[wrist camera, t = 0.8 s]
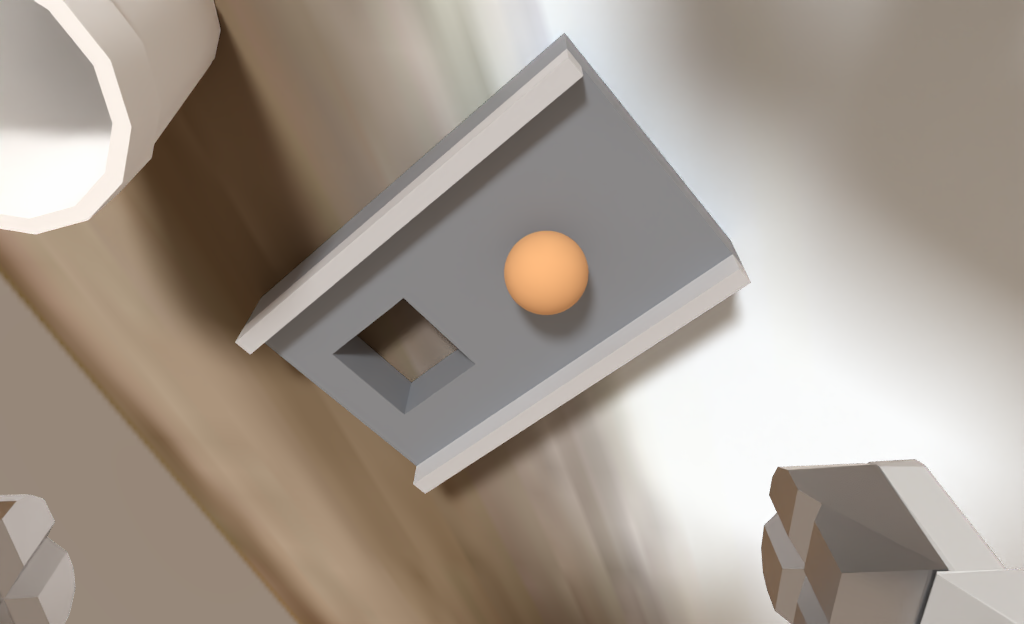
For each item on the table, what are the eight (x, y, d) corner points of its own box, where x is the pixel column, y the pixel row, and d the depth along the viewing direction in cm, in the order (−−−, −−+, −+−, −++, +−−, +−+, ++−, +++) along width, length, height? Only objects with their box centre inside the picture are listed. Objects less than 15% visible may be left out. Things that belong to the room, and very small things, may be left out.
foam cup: (255, -73, 33) (118, -26, 22) (255, 130, 38) (142, 251, 27) (30, -117, 33) (-225, -91, 22) (59, 96, 38) (-138, 206, 27)
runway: (564, 33, 35) (568, 57, 32) (730, 240, 41) (750, 282, 37) (261, 297, 43) (235, 342, 40) (433, 442, 49) (425, 493, 45)
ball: (551, 200, 37) (552, 238, 33) (602, 257, 38) (609, 298, 35) (488, 249, 38) (484, 290, 35) (540, 301, 40) (541, 345, 36)
